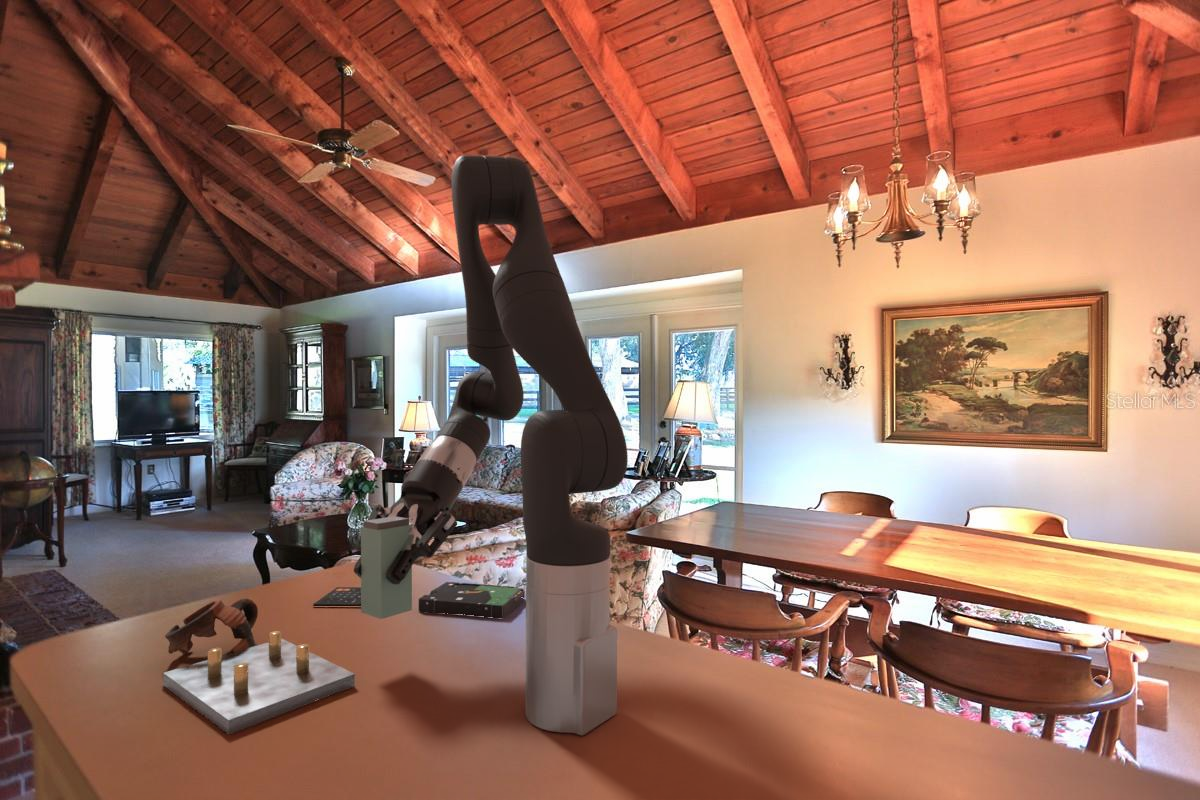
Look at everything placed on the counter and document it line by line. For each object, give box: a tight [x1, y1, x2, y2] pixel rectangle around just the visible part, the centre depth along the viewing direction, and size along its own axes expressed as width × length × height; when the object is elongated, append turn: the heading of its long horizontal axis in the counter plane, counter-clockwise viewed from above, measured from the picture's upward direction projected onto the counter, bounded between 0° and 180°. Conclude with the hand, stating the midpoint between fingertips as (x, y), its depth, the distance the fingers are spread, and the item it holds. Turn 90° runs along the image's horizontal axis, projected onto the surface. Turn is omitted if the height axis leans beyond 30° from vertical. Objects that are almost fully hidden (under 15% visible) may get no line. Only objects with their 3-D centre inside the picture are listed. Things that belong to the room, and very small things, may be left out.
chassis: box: [162, 630, 356, 736], centre depth 76 cm, size 18×14×4 cm
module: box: [360, 516, 413, 620], centre depth 82 cm, size 4×5×12 cm
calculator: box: [312, 586, 361, 607], centre depth 109 cm, size 9×12×3 cm
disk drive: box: [418, 581, 526, 620], centre depth 106 cm, size 10×3×15 cm
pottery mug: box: [164, 598, 259, 655], centre depth 86 cm, size 12×10×8 cm
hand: (375, 577), depth 80 cm, fingers closed on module, 5 cm apart
